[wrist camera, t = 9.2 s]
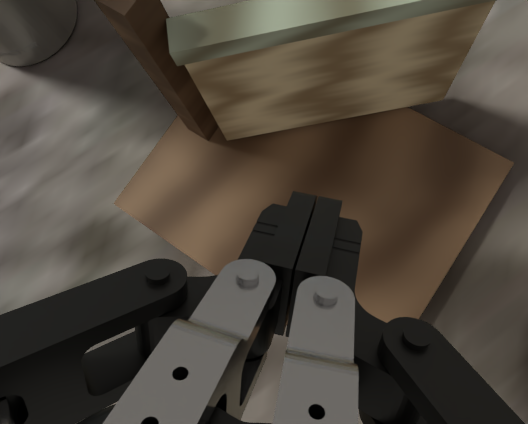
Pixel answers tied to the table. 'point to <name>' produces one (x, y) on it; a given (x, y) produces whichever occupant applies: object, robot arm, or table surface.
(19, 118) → the table surface
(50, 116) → the table surface
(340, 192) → the gate base
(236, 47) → the gate leaf
